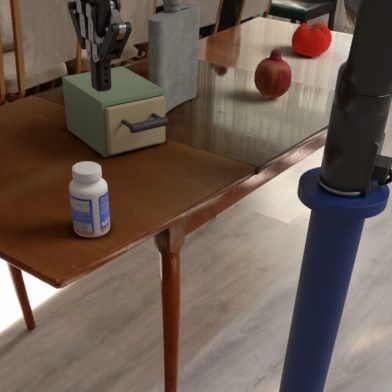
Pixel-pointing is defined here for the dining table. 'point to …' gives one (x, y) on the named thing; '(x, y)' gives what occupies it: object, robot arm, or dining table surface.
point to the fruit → (273, 75)
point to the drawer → (135, 124)
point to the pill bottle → (89, 200)
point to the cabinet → (102, 104)
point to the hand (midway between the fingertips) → (101, 89)
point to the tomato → (311, 39)
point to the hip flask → (174, 51)
